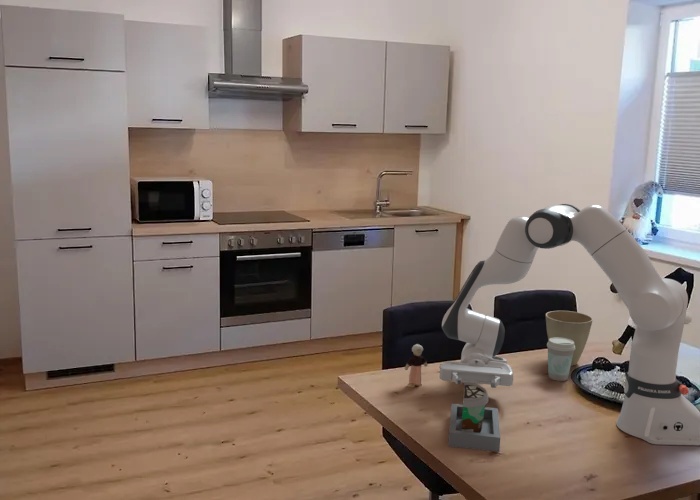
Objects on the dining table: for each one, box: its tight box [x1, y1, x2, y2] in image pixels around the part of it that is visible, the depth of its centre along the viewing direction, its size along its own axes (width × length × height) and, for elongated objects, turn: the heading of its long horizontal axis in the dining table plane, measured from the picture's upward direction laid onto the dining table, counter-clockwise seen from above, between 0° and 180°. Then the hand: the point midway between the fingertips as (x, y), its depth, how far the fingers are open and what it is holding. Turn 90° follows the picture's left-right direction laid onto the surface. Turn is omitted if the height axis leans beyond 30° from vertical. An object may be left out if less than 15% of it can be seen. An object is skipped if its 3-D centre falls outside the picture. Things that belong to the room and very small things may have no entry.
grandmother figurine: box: [404, 343, 428, 388], centre depth 202 cm, size 8×4×13 cm, turn 129°
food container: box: [461, 382, 489, 433], centre depth 171 cm, size 12×6×10 cm, turn 170°
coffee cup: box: [546, 337, 575, 382], centre depth 212 cm, size 8×8×12 cm
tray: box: [448, 403, 501, 452], centre depth 171 cm, size 12×18×4 cm, turn 170°
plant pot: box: [545, 310, 594, 367], centre depth 227 cm, size 15×15×16 cm
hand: (476, 383), depth 184 cm, fingers open, 8 cm apart
